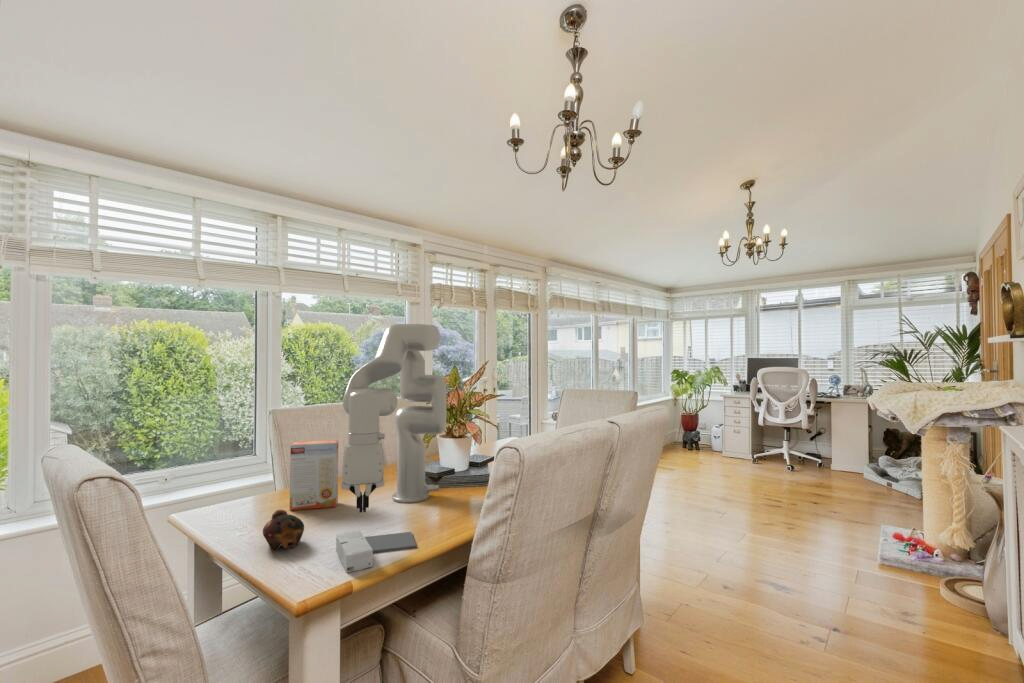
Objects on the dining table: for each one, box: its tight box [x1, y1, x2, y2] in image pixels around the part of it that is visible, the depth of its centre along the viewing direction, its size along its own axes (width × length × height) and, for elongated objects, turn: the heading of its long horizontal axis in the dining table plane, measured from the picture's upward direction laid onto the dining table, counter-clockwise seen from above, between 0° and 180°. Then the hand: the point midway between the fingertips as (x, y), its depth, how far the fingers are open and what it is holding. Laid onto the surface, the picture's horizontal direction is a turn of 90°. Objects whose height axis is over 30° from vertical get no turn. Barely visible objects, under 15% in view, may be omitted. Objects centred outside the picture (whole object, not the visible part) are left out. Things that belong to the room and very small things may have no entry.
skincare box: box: [335, 529, 374, 574], centre depth 113 cm, size 6×4×12 cm
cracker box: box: [289, 439, 339, 511], centre depth 154 cm, size 14×6×21 cm, turn 104°
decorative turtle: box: [262, 509, 305, 551], centre depth 122 cm, size 10×15×8 cm, turn 43°
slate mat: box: [364, 531, 417, 554], centre depth 123 cm, size 15×10×1 cm, turn 109°
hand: (362, 510), depth 122 cm, fingers closed
